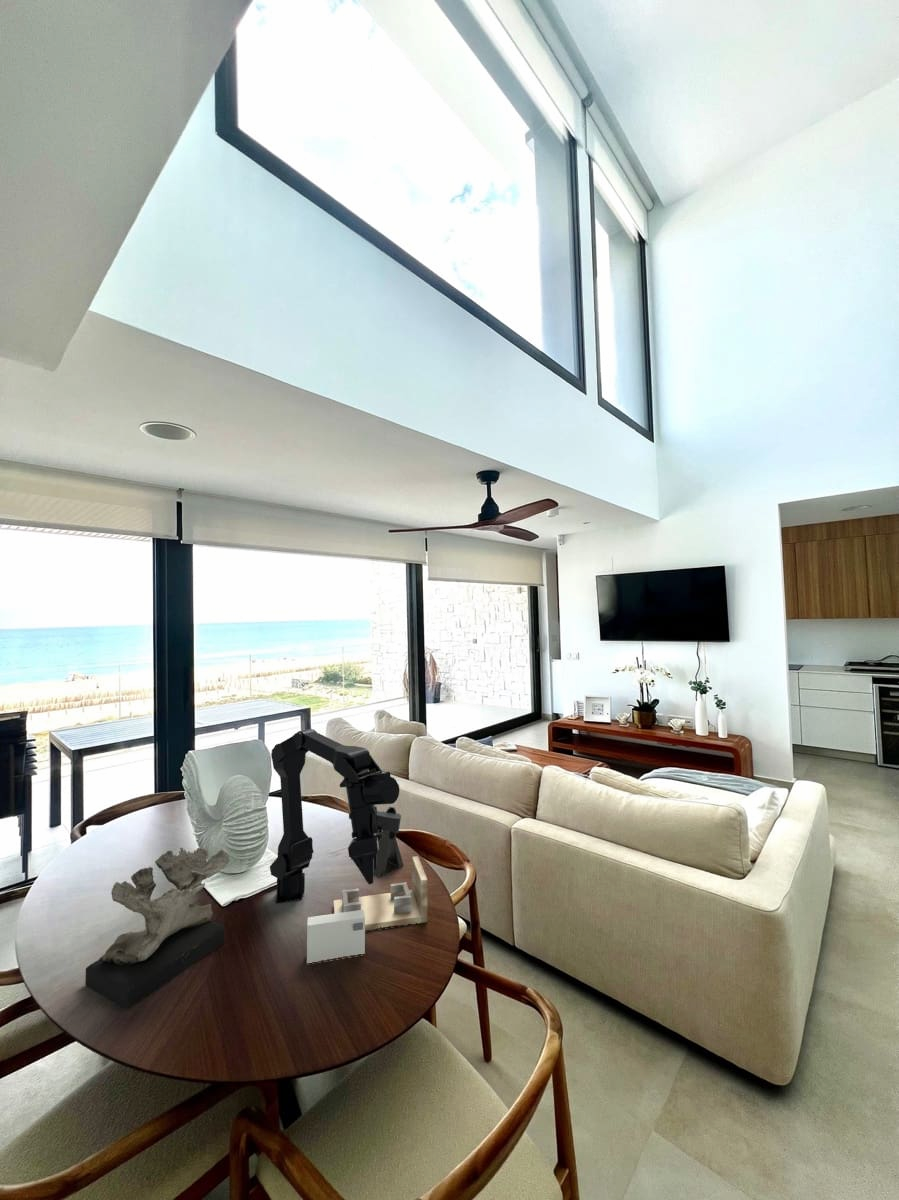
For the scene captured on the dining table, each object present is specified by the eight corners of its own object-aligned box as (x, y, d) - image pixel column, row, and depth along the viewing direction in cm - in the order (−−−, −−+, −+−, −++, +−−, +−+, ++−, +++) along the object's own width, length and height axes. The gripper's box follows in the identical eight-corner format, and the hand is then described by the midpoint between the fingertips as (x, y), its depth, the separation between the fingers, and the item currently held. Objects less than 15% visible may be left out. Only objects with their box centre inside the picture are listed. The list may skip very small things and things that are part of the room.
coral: (198, 917, 121) (200, 827, 121) (257, 944, 111) (259, 846, 112) (82, 984, 99) (86, 874, 99) (144, 1024, 89) (147, 902, 90)
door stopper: (379, 878, 139) (379, 834, 140) (366, 870, 144) (366, 828, 144) (403, 866, 146) (404, 824, 146) (390, 859, 150) (390, 819, 150)
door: (306, 967, 104) (307, 928, 104) (307, 955, 108) (307, 917, 108) (364, 957, 107) (365, 919, 107) (363, 946, 111) (363, 909, 111)
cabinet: (335, 936, 114) (335, 891, 114) (333, 906, 125) (334, 866, 126) (427, 922, 119) (427, 879, 120) (417, 894, 131) (417, 856, 131)
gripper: (394, 805, 108) (407, 882, 105) (396, 790, 126) (407, 855, 123) (342, 817, 107) (354, 895, 104) (352, 800, 125) (362, 866, 122)
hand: (372, 876), depth 113 cm, fingers open, 9 cm apart
